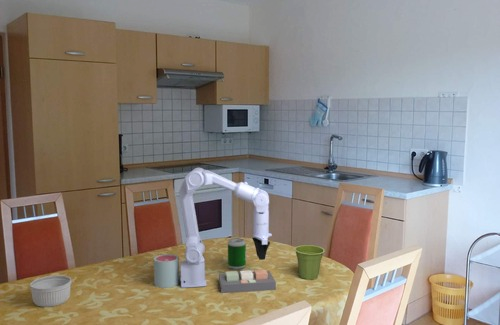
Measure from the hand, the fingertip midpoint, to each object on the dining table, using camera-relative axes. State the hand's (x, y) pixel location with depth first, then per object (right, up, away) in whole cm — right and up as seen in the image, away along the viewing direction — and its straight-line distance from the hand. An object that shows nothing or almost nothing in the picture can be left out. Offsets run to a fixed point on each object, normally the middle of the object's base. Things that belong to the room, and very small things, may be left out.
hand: (260, 257), depth 173 cm
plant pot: (+19, -10, +9) cm, 24 cm away
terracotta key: (0, -9, +1) cm, 9 cm away
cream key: (-5, -9, 0) cm, 10 cm away
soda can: (-10, -8, +20) cm, 24 cm away
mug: (-35, -10, +4) cm, 37 cm away
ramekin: (-73, -12, -14) cm, 75 cm away
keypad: (-5, -10, 0) cm, 12 cm away
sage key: (-11, -9, -1) cm, 14 cm away
